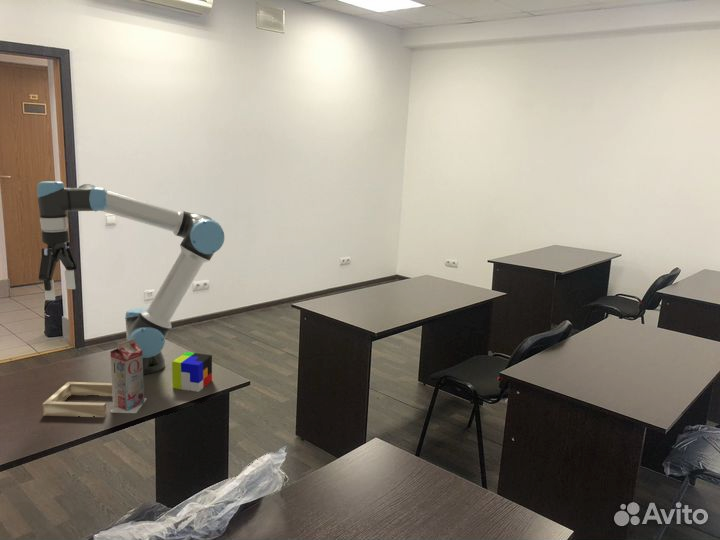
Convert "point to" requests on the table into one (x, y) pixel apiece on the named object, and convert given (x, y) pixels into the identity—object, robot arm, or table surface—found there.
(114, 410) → the mat
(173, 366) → the puzzle toy
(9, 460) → the table surface
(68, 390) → the open wooden frame
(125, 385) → the juice carton
